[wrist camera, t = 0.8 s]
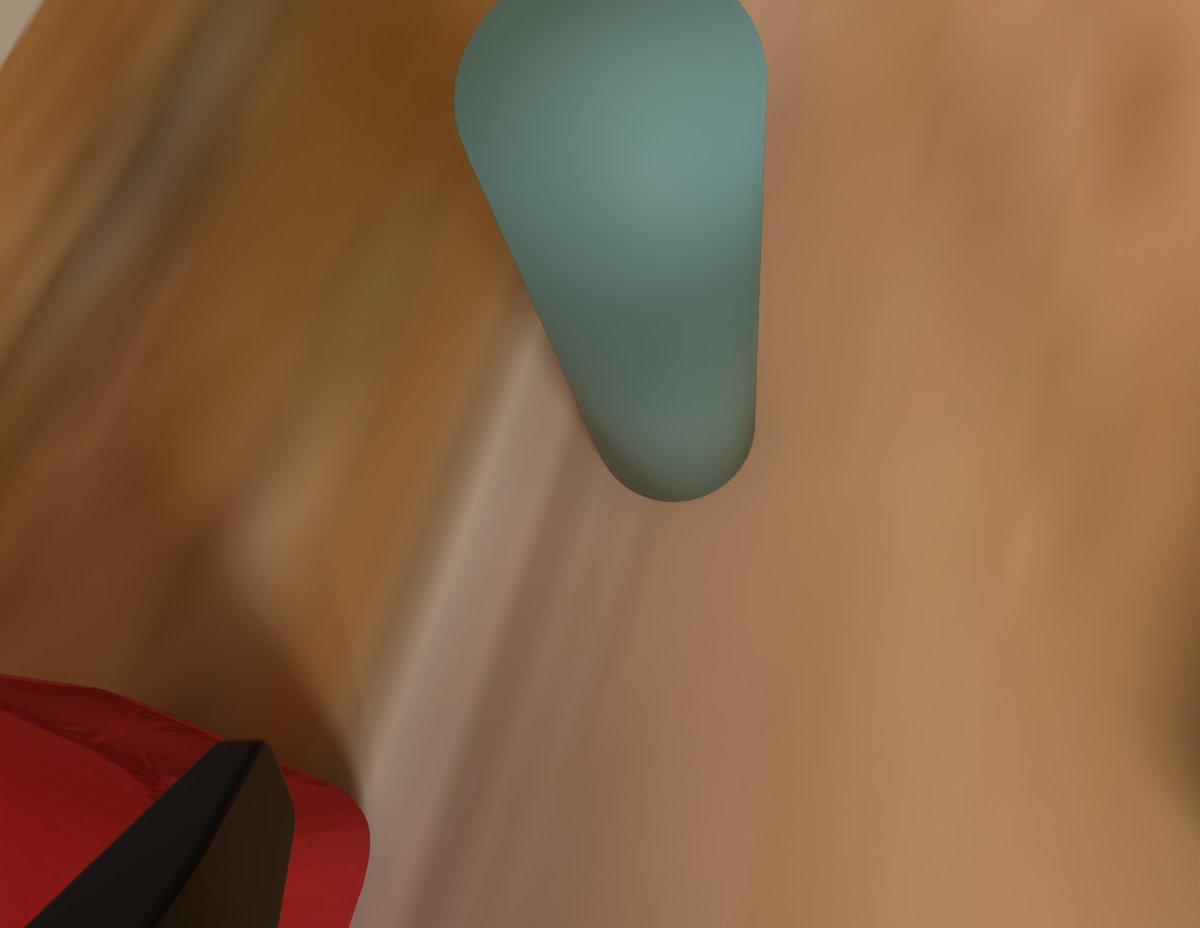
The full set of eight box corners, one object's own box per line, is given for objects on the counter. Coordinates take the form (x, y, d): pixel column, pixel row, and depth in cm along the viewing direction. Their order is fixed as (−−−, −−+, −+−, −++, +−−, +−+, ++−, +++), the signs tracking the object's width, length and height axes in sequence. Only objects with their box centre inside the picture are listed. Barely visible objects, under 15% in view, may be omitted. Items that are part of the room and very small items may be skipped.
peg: (724, 523, 24) (704, 264, 12) (572, 472, 25) (406, 180, 13) (776, 375, 25) (809, -11, 13) (626, 330, 26) (520, -77, 14)
